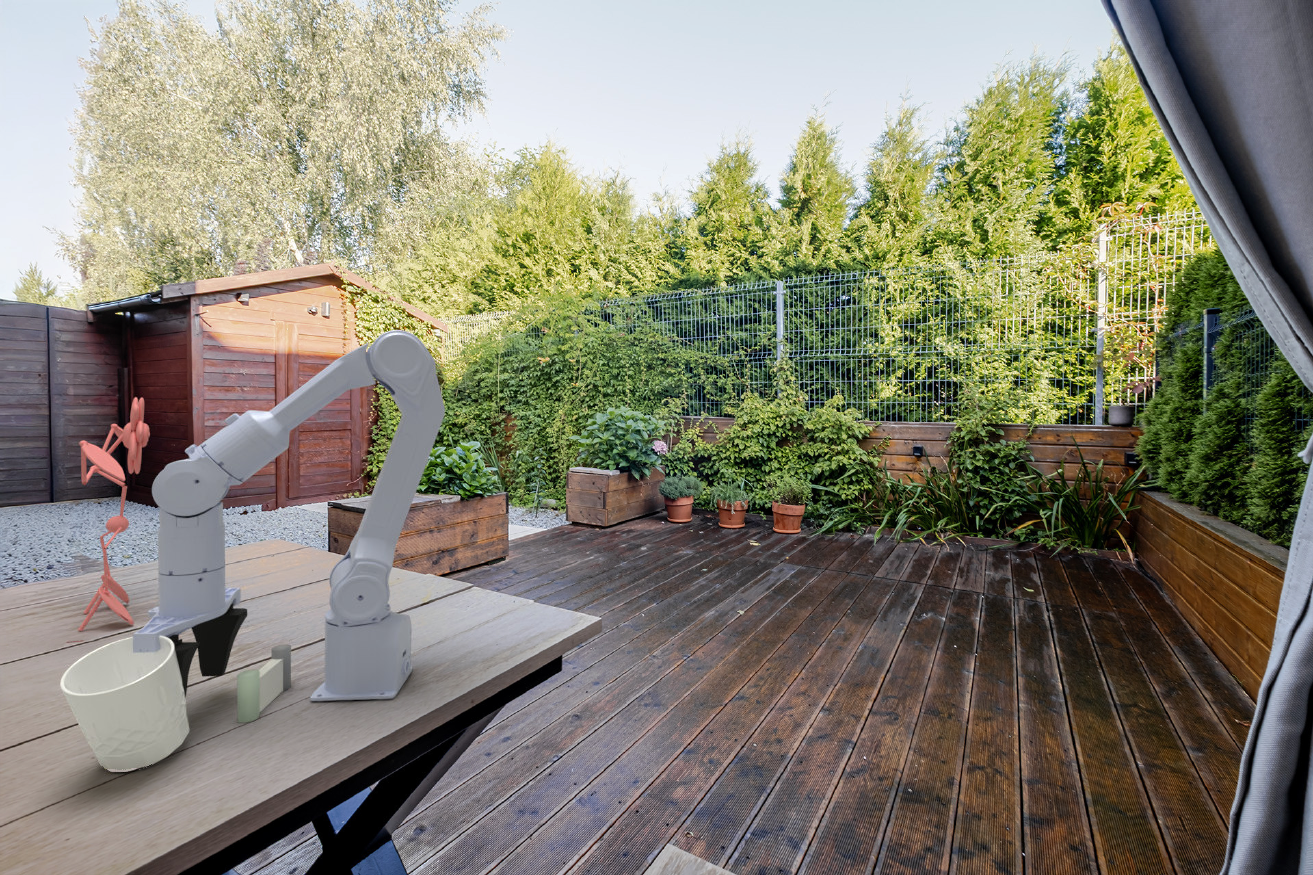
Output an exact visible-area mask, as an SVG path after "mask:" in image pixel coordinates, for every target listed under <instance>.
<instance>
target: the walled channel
mask: <svg viewBox="0 0 1313 875" xmlns="http://www.w3.org/2000/svg"><path fill="white" fill-rule="evenodd" d="M270 658H271V660H269V661H268V662H267V663H265V664H264V665H263V666H262V667H260V668H259V669H248V670H245V671H241V672H239V673H238V674H237V675H236V676H237V677H236V678H237V680H236V681H237V682H236V683H237V684H236V685H237V689H236V690H237V693H236V694H237V703H236V705H237V706H236V707H237V709H236V710H237V713H236V716H237V723H240V724H246V723H247V724H248V723H250V722H253V721H255V720H257V719H258V718H260V713H261V712H263V711H264V709H266V707H268V706H269V705H270V704H271V703H272V702H273V701H274V700H275V699H276V698H277V697H278V696H280V694H281V693H283V692H284V691H286V690H288V689H290V688H291V687H292V645H291V644H284V643H283V644H278V645H275V646H273V647H272V648H271V657H270Z"/></svg>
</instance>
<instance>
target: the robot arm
mask: <svg viewBox="0 0 1313 875" xmlns="http://www.w3.org/2000/svg"><path fill="white" fill-rule="evenodd" d="M368 346H369V342H367V343H365V344H362V345H361V346H359V347H357V348H355V349H353V350H351V351H349V352H348V353H346V354H344V355H342V356H340V357H339V358H337V359H335V360H334V361H333V362H332V363H331V362H330V364H329V365H327V366H326V367H325V368H324V369H323V370H321V371H320V372H318V373H317V374H316V375H314V376H313V377H312V378H310V380H308V381H307V382H305V383H303V385H302V386H300V387H299V388H298V389H296V390H295V391H294V392H292V393H291V394H290V395H289V396H287V397H286V398H285V399H283V400H282V401H281V402H279V403H278V404H277V405H276V406H274V407H273V408H272V409H270V410H269V411H266V410H265V411H264V410H254V409H253V410H247V411H245V412H244V413H243V414H241V415H239V414H238V413H233V414H231V415H230V416H228V417H227V418H225V420H224V422H225V423H226V424H227V425H226V426H225V427H223V428H221V429H220V430H219V431H217V432H216V433H214V435H212V436H210V437H209V438H208V439H206V440H205V441H203V442H202V443H201V444H200V445H198V446H197V445H196V444H194V443H193V444H191V445H190V446H188V447H187V448H186V449H185V450H184V452H185V454H187V455H188V458H186V459H181V460H176V461H173V462H170V463H168V464H166V465H165V466H164V469H162V470H161V471H160V472H159V473H158V475H156V477H155V479H153V480H154V481H153V483H152V486H151V495H152V497H153V500H154V502H155V504H156V505H157V506H158V507H159V513H158V519H159V529H158V531H157V546H158V547H157V548H158V549H157V550H158V552H157V554H158V555H157V556H158V559H157V560H158V561H157V564H158V568H157V571H158V572H157V574H158V579H157V580H158V606H156V607H153V608H151V609H149V610H148V611H147V617H148V618H150V619H149V620H148V621H147V623H146V624H145V625H144V626H143V627H142V628H140V629H139V630H137V631H135V632H133V633H132V637H133V653H145V652H156V651H158V650H160V649H161V648H160V643H159V636H160V635H161V636H165V637H167V638H169V639H171V640H172V641H173V643H174V647H175V651H176V656H177V660H178V665H179V669H180V673H181V678H182V685H183V689H184V694H185V699H186V698H187V697H186V696H187V692H188V682H189V680H188V679H189V673H190V668H191V665H192V662H193V659H194V657H195V654H196V652H197V654H198V664H199V669H200V673H201V676H202V677H222V676H223V675H225V673H226V671H227V667H228V663H229V660H230V657H231V652H232V649H233V646H234V642H235V640H236V638H237V635H238V632H239V631H240V628H241V627H242V625H243V623H244V622H245V620H246V618H247V617H248V609H247V608H242V607H238V608H237V607H236V606H238V605H240V604H241V603H242V602H241V600H242V599H241V598H242V594H241V592H242V590H241V587H226V525H225V523H224V502H223V501H222V500H223V499H224V498H225V497H226V496H227V494H228V492H229V490H230V488H231V486H239V485H241V484H243V483H244V482H245V481H247V480H248V479H250V478H251V477H252V476H254V475H255V474H257V473H258V472H259V471H260V470H262V469H263V468H264V467H266V466H267V465H268V464H269V463H270V462H272V461H273V460H275V459H276V458H277V457H279V456H280V455H281V454H283V453H284V452H285V451H287V450H288V449H289V447H290V435H291V434H290V433H291V431H292V430H294V429H295V428H297V427H298V426H300V425H301V424H302V423H304V422H305V421H307V419H309V418H310V417H312V416H313V415H315V414H316V413H317V412H319V411H320V410H322V409H323V408H325V406H327V405H329V404H330V403H331V402H333V401H334V400H335V399H338V398H339V397H340V396H342V394H344V393H345V392H348V391H350V390H353V389H359V388H364V387H369V386H373V385H376V384H377V383H376V381H377V382H378V383H379V384H380V385H381V386H382V387H384V388H385V389H386V391H387V392H388V393H390V397H391V398H392V399H393V402H395V405H396V406H397V408H398V410H399V412H400V414H401V417H400V419H399V422H398V425H397V427H396V430H395V433H394V436H393V438H392V440H391V443H390V446H389V448H388V451H387V453H386V457H385V459H384V462H383V465H382V466H381V469H380V472H379V474H378V477H377V480H376V483H375V485H374V488H373V490H372V493H371V494H370V495H371V496H370V498H369V501H368V503H367V506H366V509H365V511H364V514H363V516H362V520H361V522H360V524H359V527H358V530H357V531H356V533H355V535H354V537H353V539H352V540H351V542H350V545H349V547H348V550H347V552H346V553H345V555H344V556H343V557H342V558H341V559H340V560H339V561H338V562H337V563H336V564H335V565H334V566H333V568H332V569H331V572H330V574H329V578H328V580H329V587H330V594H329V606H330V609H328V611H327V612H326V613H325V615H324V682H322V683H321V685H320V686H318V688H317V689H316V690H315V691H314V692H313V693H312V694H311V695H310V697H309V700H310V701H311V702H317V701H318V702H320V701H321V702H325V701H354V700H356V701H357V700H358V701H359V700H386V699H387V700H388V699H390V700H391V699H395V697H396V696H397V695H398V693H399V692H400V690H401V688H402V687H403V685H404V684H405V682H406V680H407V679H408V677H409V676H410V675H411V673H412V671H413V669H414V668H413V666H412V630H413V629H412V620H411V619H412V618H411V616H410V615H409V614H404V613H398V612H394V611H392V610H391V604H390V603H389V601H390V596H391V591H390V584H389V578H390V574H391V572H392V568H393V565H394V559H395V553H396V546H397V543H398V541H399V538H400V536H401V532H402V531H403V528H404V525H405V522H406V519H407V517H408V514H409V511H410V508H411V506H412V503H413V500H414V497H415V495H416V492H417V490H418V487H419V485H420V482H421V480H422V477H423V474H424V471H425V469H426V465H427V463H428V460H429V457H430V455H431V452H432V449H433V447H434V445H435V441H436V439H437V437H438V434H439V431H440V428H441V426H442V424H443V420H444V418H445V413H446V408H445V403H444V400H443V399H444V398H443V396H442V392H441V387H440V384H439V379H438V376H437V369H436V368H437V366H436V360H435V359H434V358H433V356H432V355H431V353H430V352H429V350H428V349H427V347H426V345H425V344H424V343H423V342H422V340H421V339H420V338H418V337H417V336H416V335H415V334H413V333H411V332H409V331H406V330H400V329H393V330H389V331H386V332H383V333H382V334H380V335H378V337H376V339H375V340H374V341H373V342H372V344H371V345H370V346H369V347H368ZM367 348H368V349H367ZM234 607H235V608H234ZM190 629H191V631H192V634H193V637H194V639H195V641H183V638H180V637H179V636H180V635H181V634H182V633H183V634H184V632H186V631H188V630H190ZM179 638H180V639H179Z"/></svg>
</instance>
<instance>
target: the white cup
mask: <svg viewBox="0 0 1313 875" xmlns="http://www.w3.org/2000/svg"><path fill="white" fill-rule="evenodd" d="M159 643H160V648H161V649H160V650H158V651H156V652H145V653H133V636H131V637H126V638H122V639H119V640H116V641H113V642H110V643H108V644H105V645H103V646H101V647H98V648H96V649H94V650H93V651H90V652H88V653H86V654H85V655H84V656H82V657H80V658H79V659H78V660H76V661H75V662H73V664H71V666H69V667H68V669H66V671H65V672H64V673H63V674H62V676H61V679H60V681H59V682H60V683H59V685H60V686H59V687H60V689H61V691H62V693H63V695H64V698H65V699H66V701H67V704H68V705H69V707H70V709H71V712H72V713H73V715H74V718H75V720H76V722H77V724H78V727H79V728H80V730H81V732H82V733H83V735H84V737H85V739H86V742H87V743H88V745H89V746H90V748H91V749H92V750H93V752H94V754H95V757H96V759H97V762H98V764H99V765H100V767H102V766H103V767H105V768H107V769H115V770H116V769H117V770H122V769H123V770H124V769H125V770H126V769H131V768H140V767H144V766H149V765H151V764H152V765H154V764H156V763H158V762H160V761H162V760H163V759H165V758H167V757H168V756H170V755H171V754H172V753H173V752H175V750H177V749H178V748H179V747H180V746H181V745H182V744H183V743H184V741H185V740H186V738H187V736H188V734H189V733H190V722H189V715H188V712H187V701H186V698H185V694H184V689H183V685H182V678H181V673H180V669H179V665H178V660H177V656H176V651H175V647H174V643H173V641H172V640H171V639H169V638H167V637H165V636H161V635H160V636H159ZM152 765H151V766H152ZM103 767H102V768H103ZM149 767H150V766H149ZM105 768H104V769H105Z"/></svg>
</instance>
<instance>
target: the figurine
mask: <svg viewBox="0 0 1313 875" xmlns="http://www.w3.org/2000/svg"><path fill="white" fill-rule="evenodd" d="M144 415H145V400H144V397H140V398H139V399H138V397H136V396H135V397H134V398H133V400H132V403H131V409H130V416H129V418H130V421H129V422H127V424H126V425H124V427H123V428H122V427H120V426H118V424H116V423H112V424H110V429H109V432H108V435H107V437H106V439H105V442H104V444H103V446H102V448H100V447H99V446H97V445H95V444H92V443H90V442H88V441H86V440H80V441H79V442H78V444H79V446H80V463H81V464H80V469H81V470H80V472H81V473H80V476H81V485H83V486H85V485H87V484H88V482H89V480H90V479H91V477H92V476H93V475H94V473H95V474H97V473H98V474H99V475H100V476H103V477H104V478H106V479H108V480H109V481H111V482H113V483H115V484H117V485H118V486H120V487H122V488H121V489H122V490H121V498H120V499H121V500H120V509H119V515H115V516H112V517H111V518H108V520H107V522H106V523H105V528H106V529H107V532H105V533H103V534H102V535H100V536H99V540H100V541H99V542H100V545H101V549H102V555H103V556H102V558H103V572H104V573H103V574H102V575H101V576H100V579H101V581H102V584H101V586H100V587H99V588H98V589H97V591H96V593H95V595H94V596H93V597H92V599H91V600H90V602H89V603H88V605H87V606H86V608H85V609H84V611H83V612H82V613H83V614H86V615H87V616H86V617H85V619H84V620H83V622H82V623H81V624H80V626H79V627H78V629H77V630H78V631H80V632H83V631H84V629H85V628H86V627H87V625H88V623H89V622H90V620H91V619H92V617H93V616H94V614H95V613H96V612H97V610H98V608H99V606H100V605H101V603H103V602H104V603H105V605H107V606H108V608H109V609H111V611H112V612H114V613H115V614H116V615H117V616H118V617H120V618H121V619H122V620H124V621H125V622H126V623H128V624H129V625H131V626H133V625H135V622H134V619H133V618H132V616H131V615H130V613H129V611H128V610H127V609H126V607H125V606H124V604H123V603H121V602H120V600H122V601H123V602H124V603H125V604H126V605H128V604H129V603H130V598H129V595H128V594H127V592H126V590H125V589H124V588H123V587H122V586H121V585H120V584H119V583H118V582H117V581H116V580H114V577H113V576H111V571H110V565H109V561H108V555H107V551H108V550H107V548H108V547H109V545H110V544H111V543H112V542H113V541H114V539H115V538H116V537H117V536H118V534H120V533H124V532H125V531H126V530H127V529H128V528H129V526H130V521H129V519H127V518H126V517H125V516H124V512H125V511H124V510H125V505H126V504H125V503H126V498H127V497H126V496H127V489H128V486H127V485H126V483H125V481H126V477H125V473H124V470H123V467H122V466H121V465H120V463H119V462H118V461H117V460H116V459H115V458H114V457H113V456H112V455H111V454H112V453H113V452H114V451H115V449H116V448H117V447H118V446H119V444H121V442H122V443H123V446H124V447H125V448H127V449H128V452H127V469H128V473H129V474H130V475H132V474H133V473H135V474H136V475H138V474H139V473H140V471H141V466H142V465H141V464H142V452H143V450H142V448H145V447H146V446H148V442H149V438H150V436H151V433H150V427H149V425H148V424H147V423H145V422H144V419H145V418H144V417H145V416H144ZM114 434H115V435H116V436H117V440H116V441H114V444H112V445H111V447H110V448H109V449H108V446H109V444H110V442H111V440H112V437H113V435H114ZM107 449H108V450H107ZM87 459H88V460H89V461H90V462H91V463H92V464H93V465H92V466H90V468H89V471H88V473H87ZM111 533H113V535H112V536H111V538H110V539H109V540H107V542H106V544H105V540H104V537H106V536H108V535H109V534H111ZM114 595H115V596H114ZM119 599H120V600H119ZM78 642H80V643H81V642H84V640H83V639H81V640H73V641H66V644H69V643H78Z"/></svg>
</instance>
